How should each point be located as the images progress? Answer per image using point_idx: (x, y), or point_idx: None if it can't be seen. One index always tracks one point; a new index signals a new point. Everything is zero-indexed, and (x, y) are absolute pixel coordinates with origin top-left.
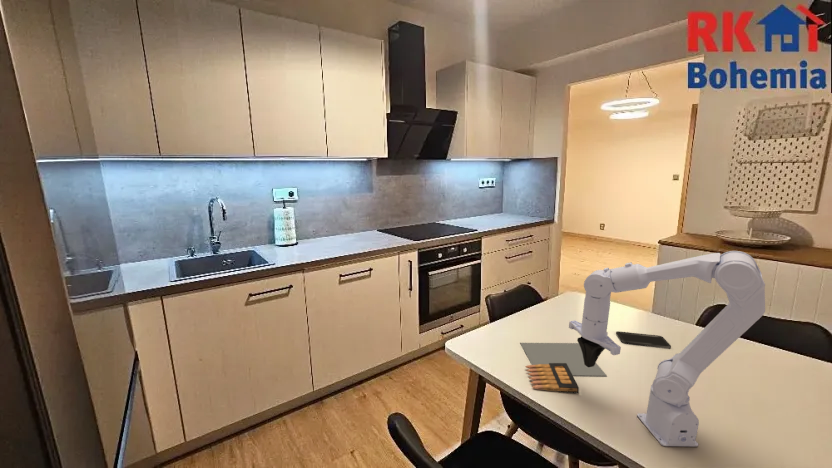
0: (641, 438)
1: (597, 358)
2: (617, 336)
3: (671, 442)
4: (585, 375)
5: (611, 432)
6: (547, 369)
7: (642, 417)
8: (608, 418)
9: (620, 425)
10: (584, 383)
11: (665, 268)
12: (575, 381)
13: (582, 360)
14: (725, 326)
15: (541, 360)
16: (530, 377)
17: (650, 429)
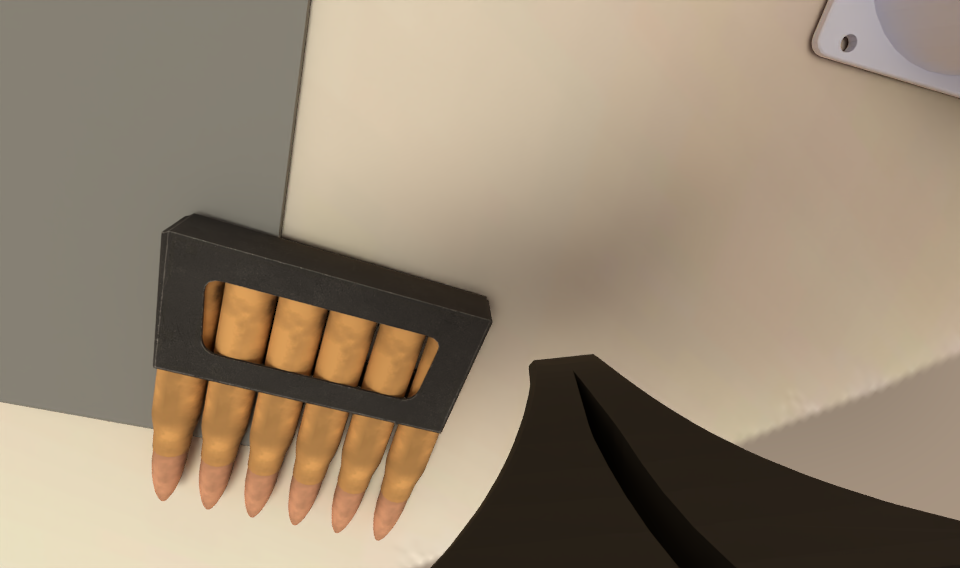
0: (941, 195)
1: (655, 402)
2: None
3: None
4: (297, 94)
5: (825, 329)
6: (233, 408)
7: (861, 40)
8: (740, 266)
9: (813, 238)
10: (388, 170)
11: None
12: (422, 303)
13: None
14: None
15: (54, 329)
16: (292, 521)
17: (956, 89)
